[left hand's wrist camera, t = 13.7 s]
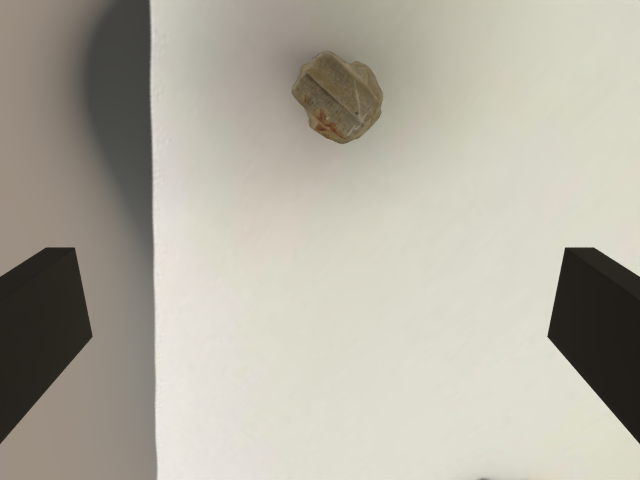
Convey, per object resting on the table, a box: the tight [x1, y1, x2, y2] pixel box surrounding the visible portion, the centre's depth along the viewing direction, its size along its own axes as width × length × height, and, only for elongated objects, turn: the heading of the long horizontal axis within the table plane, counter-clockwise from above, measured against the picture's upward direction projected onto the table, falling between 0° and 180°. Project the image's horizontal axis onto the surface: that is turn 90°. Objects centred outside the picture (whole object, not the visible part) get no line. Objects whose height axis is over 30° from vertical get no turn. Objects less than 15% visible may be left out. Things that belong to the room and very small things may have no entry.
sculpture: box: [292, 52, 383, 144], centre depth 34 cm, size 6×7×15 cm
